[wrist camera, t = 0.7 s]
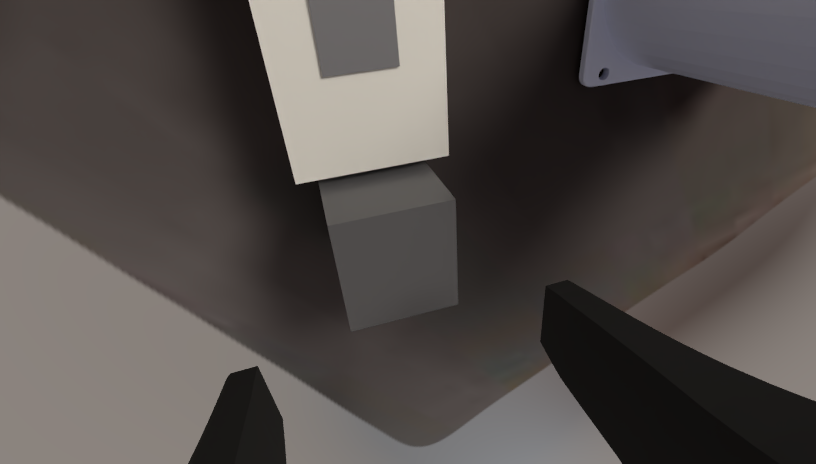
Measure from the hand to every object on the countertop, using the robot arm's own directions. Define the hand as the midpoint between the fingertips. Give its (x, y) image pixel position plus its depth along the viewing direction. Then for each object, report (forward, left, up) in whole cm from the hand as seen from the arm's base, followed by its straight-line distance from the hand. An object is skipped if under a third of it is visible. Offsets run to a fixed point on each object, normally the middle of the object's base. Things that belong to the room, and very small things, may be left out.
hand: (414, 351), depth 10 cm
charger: (-1, 0, -10) cm, 10 cm away
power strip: (-1, -11, -10) cm, 15 cm away
